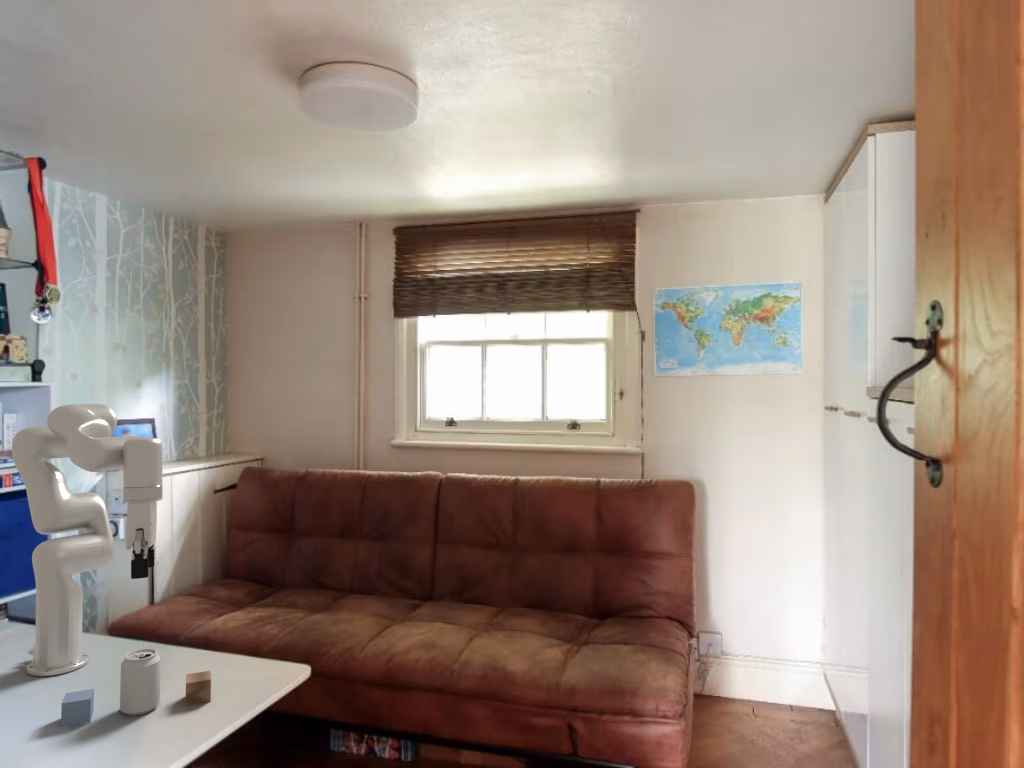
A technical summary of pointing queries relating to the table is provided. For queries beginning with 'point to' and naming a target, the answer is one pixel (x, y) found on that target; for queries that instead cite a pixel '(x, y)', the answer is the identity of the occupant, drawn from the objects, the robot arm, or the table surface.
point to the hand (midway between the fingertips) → (143, 572)
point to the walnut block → (198, 688)
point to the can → (140, 681)
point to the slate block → (77, 707)
